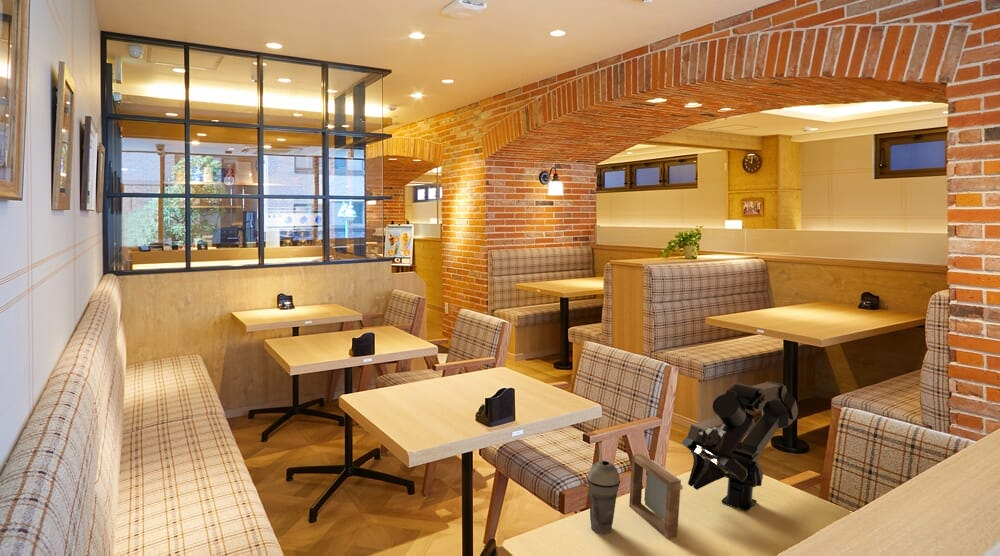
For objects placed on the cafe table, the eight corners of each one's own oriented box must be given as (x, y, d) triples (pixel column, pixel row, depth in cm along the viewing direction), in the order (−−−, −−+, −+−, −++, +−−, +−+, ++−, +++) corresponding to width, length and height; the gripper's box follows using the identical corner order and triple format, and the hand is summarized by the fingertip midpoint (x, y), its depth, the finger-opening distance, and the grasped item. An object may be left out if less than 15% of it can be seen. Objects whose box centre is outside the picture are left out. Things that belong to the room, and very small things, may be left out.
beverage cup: (617, 539, 131) (622, 451, 129) (583, 535, 133) (587, 447, 130) (617, 522, 138) (622, 438, 136) (585, 518, 140) (589, 435, 137)
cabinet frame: (638, 504, 147) (640, 453, 145) (676, 536, 133) (680, 480, 131) (629, 506, 146) (632, 454, 144) (667, 538, 132) (670, 482, 130)
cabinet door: (650, 501, 146) (653, 458, 145) (681, 526, 135) (684, 479, 134) (643, 502, 145) (645, 459, 144) (673, 528, 134) (676, 480, 133)
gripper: (686, 403, 150) (648, 454, 148) (731, 422, 132) (690, 480, 130) (716, 430, 152) (680, 480, 150) (765, 452, 134) (724, 510, 132)
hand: (692, 486), depth 140 cm, fingers closed
